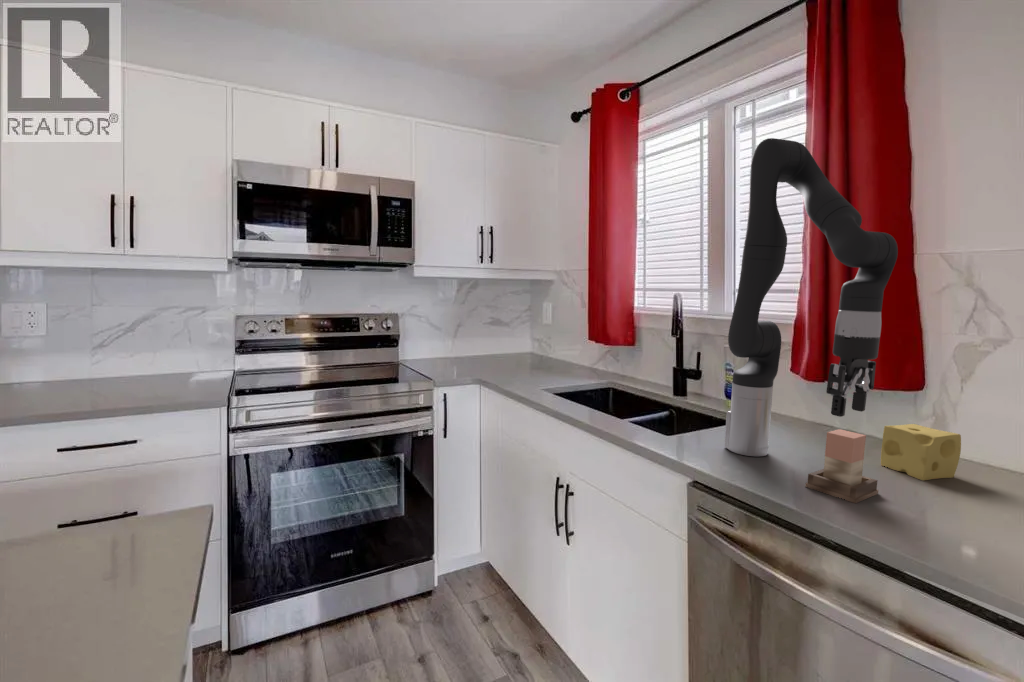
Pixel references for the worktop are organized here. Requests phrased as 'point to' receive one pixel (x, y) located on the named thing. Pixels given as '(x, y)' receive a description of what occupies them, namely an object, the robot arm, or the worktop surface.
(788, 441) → the worktop surface
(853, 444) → the top block
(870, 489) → the socket board
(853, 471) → the base block
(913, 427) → the cheese
